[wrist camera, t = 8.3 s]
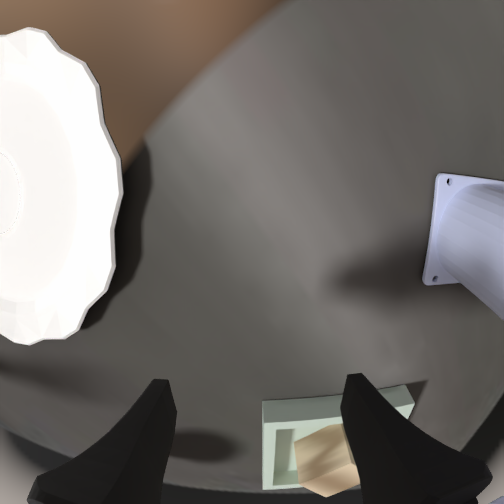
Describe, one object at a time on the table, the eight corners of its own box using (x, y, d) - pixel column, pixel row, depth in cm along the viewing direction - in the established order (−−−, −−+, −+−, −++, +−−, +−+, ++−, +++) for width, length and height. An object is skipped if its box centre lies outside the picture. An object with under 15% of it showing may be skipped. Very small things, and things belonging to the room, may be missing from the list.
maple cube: (339, 419, 25) (351, 462, 20) (361, 438, 26) (372, 477, 21) (293, 442, 26) (298, 484, 21) (319, 459, 27) (326, 497, 22)
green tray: (405, 384, 24) (414, 403, 22) (372, 458, 29) (377, 474, 26) (262, 400, 24) (263, 422, 22) (262, 471, 29) (263, 489, 26)
